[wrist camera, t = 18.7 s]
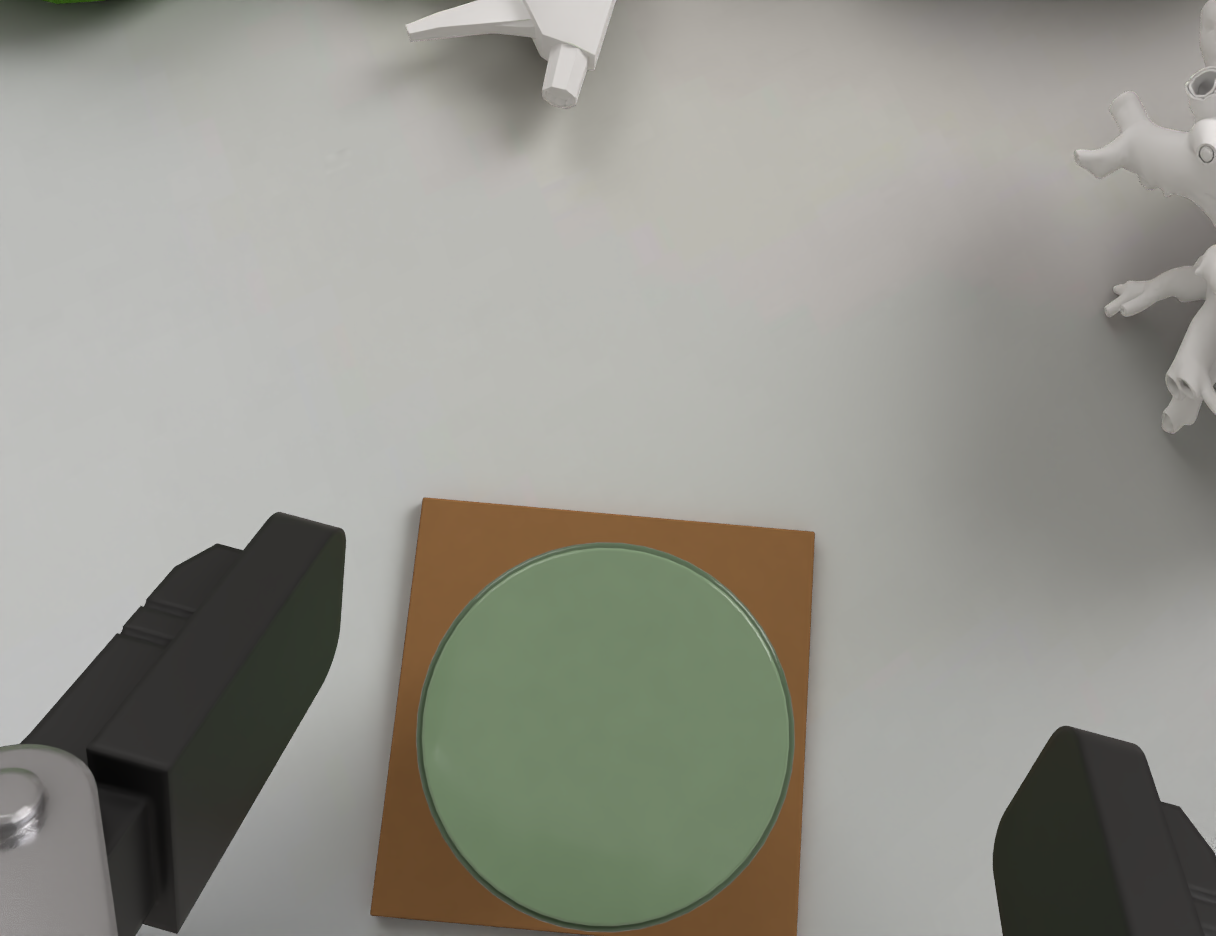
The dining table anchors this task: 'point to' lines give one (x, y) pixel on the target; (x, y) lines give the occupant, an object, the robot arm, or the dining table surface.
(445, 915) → the cork mat
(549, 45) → the spray bottle
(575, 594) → the canister
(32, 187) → the dining table surface
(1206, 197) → the heart
